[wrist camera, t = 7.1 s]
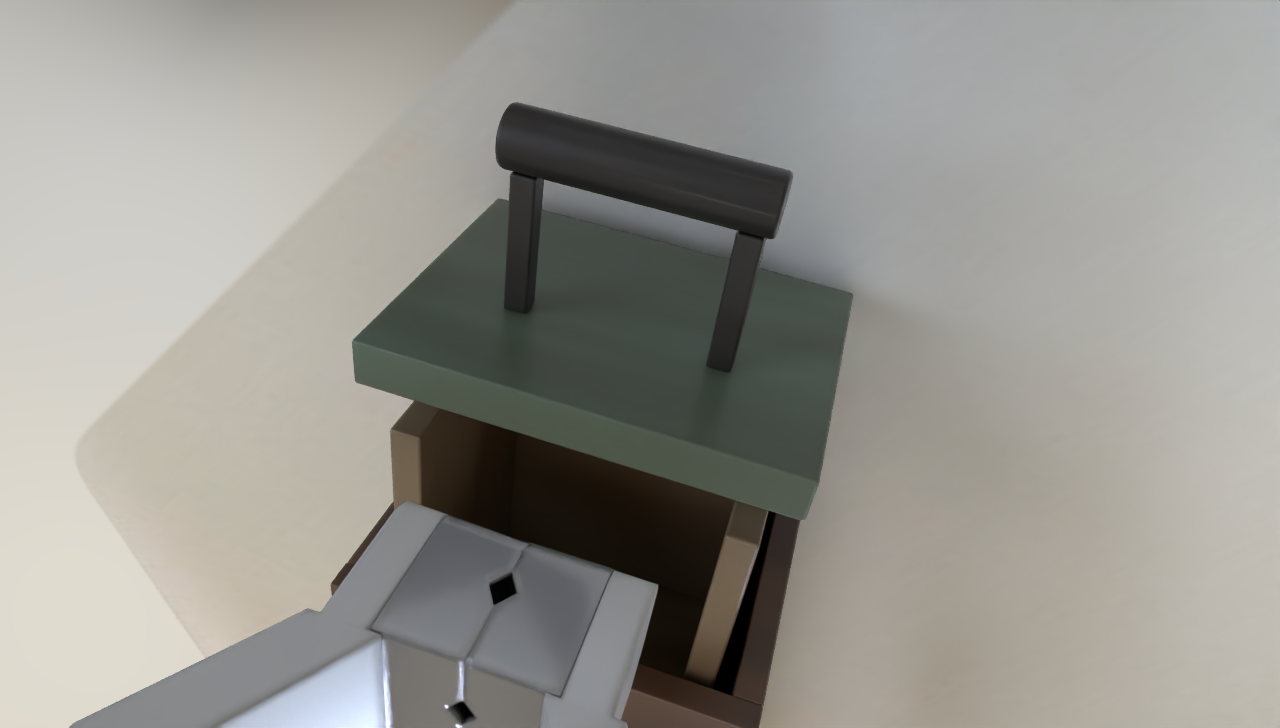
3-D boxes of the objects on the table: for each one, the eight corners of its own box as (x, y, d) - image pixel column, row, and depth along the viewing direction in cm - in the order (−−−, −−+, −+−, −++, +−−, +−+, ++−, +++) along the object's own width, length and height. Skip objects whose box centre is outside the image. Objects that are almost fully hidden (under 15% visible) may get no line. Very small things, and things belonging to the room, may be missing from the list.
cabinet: (484, 378, 30) (329, 584, 23) (808, 476, 29) (758, 734, 21) (474, 629, 39) (360, 839, 32) (722, 716, 37) (665, 959, 30)
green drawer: (505, 22, 22) (333, 125, 16) (913, 119, 20) (897, 274, 14) (484, 516, 33) (378, 689, 27) (747, 603, 32) (699, 806, 25)
